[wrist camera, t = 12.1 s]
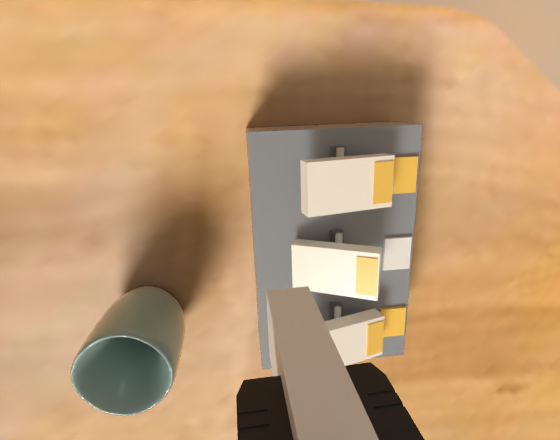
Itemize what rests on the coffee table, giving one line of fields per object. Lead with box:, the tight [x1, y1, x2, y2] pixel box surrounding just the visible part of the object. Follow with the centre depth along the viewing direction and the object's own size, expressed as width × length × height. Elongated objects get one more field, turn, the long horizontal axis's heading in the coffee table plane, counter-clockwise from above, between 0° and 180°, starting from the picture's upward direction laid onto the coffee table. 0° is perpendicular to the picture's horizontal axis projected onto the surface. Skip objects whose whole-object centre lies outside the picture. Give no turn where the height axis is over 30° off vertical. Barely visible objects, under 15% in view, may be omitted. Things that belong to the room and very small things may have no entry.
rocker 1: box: [300, 153, 395, 217], centre depth 27 cm, size 7×4×2 cm, turn 92°
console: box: [246, 122, 423, 369], centre depth 34 cm, size 14×22×7 cm, turn 2°
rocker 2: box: [291, 239, 382, 301], centre depth 29 cm, size 7×4×2 cm, turn 93°
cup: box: [71, 286, 185, 416], centre depth 33 cm, size 8×8×10 cm
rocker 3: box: [325, 308, 385, 366], centre depth 31 cm, size 7×4×2 cm, turn 91°
